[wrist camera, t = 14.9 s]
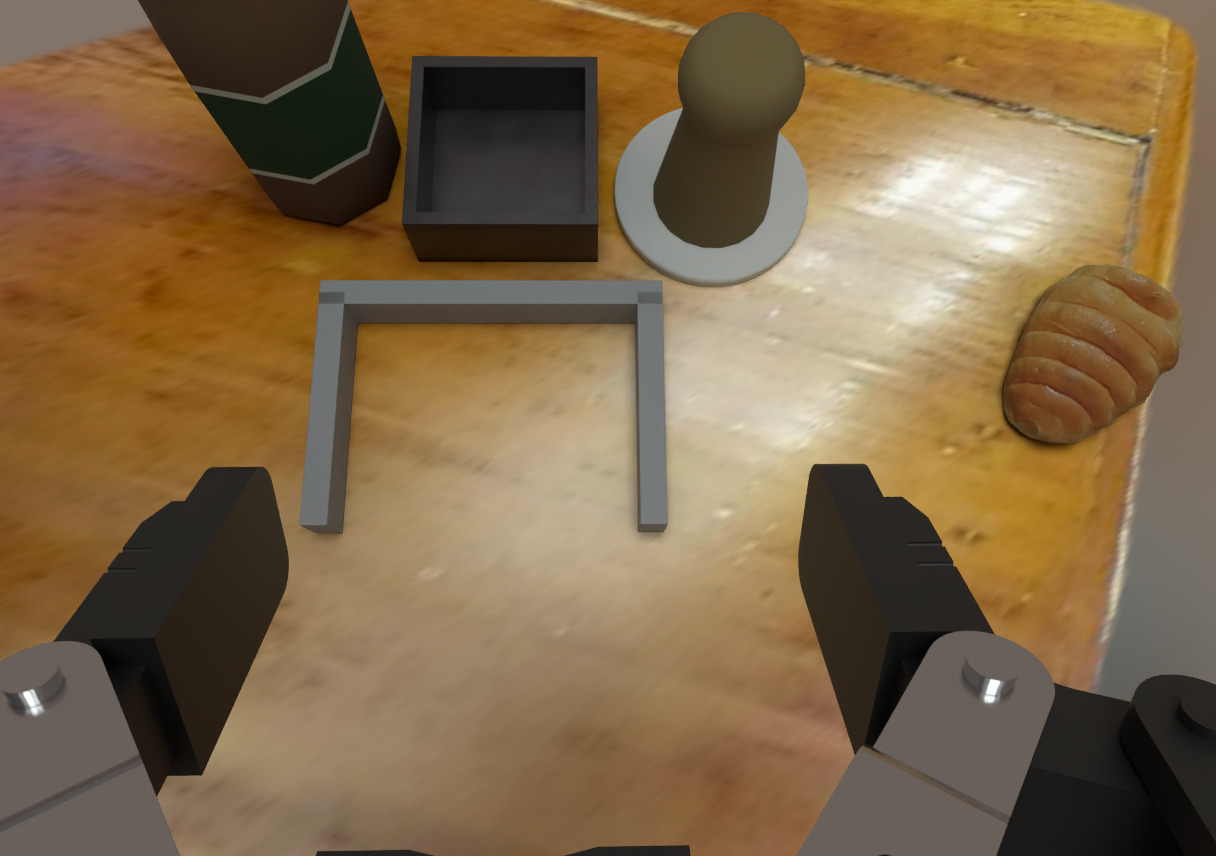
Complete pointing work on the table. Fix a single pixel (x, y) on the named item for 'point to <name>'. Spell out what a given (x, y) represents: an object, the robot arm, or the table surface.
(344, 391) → the grey u-shaped frame
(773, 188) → the saucer
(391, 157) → the beer bottle
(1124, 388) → the pastry
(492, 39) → the table surface
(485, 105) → the open storage bin
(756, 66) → the cork
